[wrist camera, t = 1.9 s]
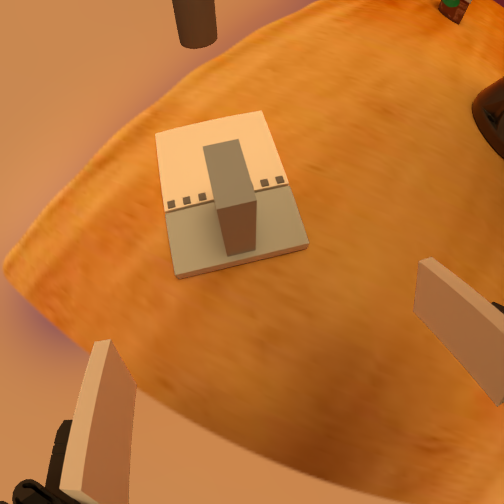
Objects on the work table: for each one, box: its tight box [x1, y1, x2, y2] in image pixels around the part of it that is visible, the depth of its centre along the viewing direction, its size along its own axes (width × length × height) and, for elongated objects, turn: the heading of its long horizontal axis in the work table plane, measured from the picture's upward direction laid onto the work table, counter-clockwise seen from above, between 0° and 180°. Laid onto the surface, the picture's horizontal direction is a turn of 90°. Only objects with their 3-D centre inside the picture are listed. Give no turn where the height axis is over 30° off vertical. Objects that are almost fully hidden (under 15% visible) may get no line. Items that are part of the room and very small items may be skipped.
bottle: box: [172, 0, 217, 49], centre depth 34 cm, size 6×6×15 cm
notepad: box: [155, 111, 289, 214], centre depth 32 cm, size 10×12×2 cm
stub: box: [165, 139, 309, 279], centre depth 25 cm, size 6×12×10 cm, turn 104°
